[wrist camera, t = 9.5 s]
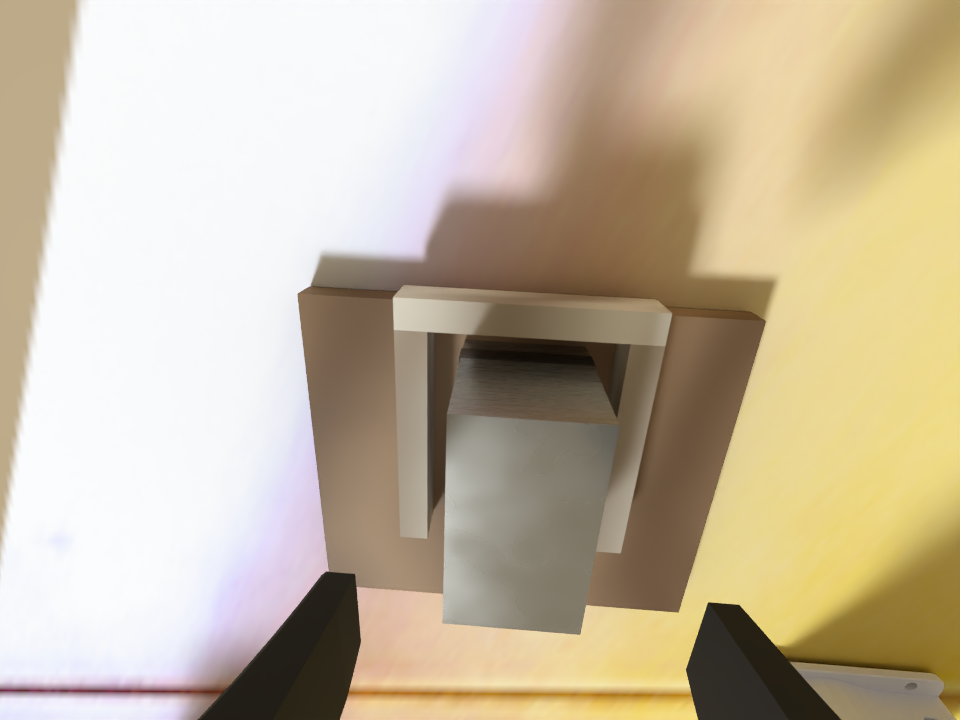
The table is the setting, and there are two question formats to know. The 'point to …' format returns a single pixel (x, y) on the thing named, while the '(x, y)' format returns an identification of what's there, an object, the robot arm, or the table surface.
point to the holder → (423, 421)
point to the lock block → (524, 485)
